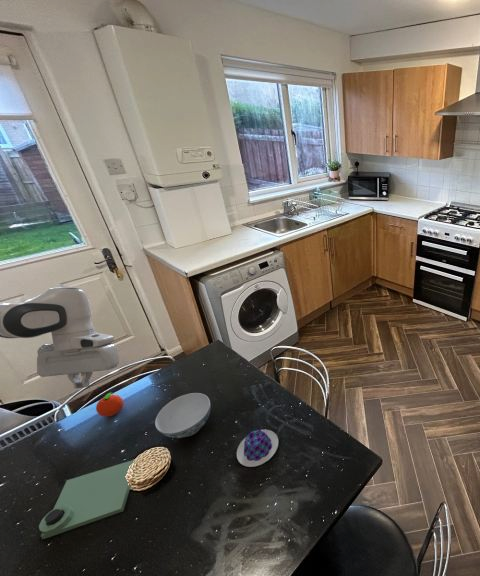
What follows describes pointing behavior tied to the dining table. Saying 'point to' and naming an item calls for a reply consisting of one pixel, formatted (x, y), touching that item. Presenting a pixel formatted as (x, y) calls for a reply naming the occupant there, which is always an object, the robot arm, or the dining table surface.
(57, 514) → the button
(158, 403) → the dining table surface
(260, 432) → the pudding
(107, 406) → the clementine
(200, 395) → the chinaware
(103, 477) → the scale
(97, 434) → the dining table surface
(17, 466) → the dining table surface
